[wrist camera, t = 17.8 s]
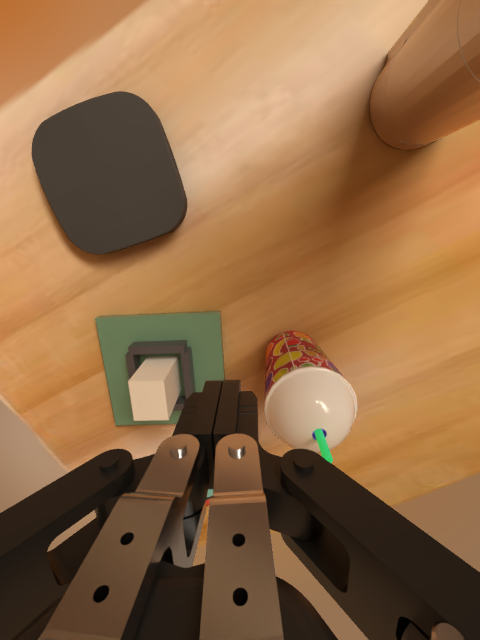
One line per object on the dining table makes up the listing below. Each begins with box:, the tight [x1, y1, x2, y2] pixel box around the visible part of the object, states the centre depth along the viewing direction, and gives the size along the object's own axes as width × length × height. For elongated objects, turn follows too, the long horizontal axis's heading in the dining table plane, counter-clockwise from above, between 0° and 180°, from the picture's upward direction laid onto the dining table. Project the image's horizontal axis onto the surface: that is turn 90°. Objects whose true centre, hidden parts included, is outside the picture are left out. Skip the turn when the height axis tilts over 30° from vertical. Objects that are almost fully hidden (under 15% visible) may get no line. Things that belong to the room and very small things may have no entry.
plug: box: [128, 356, 181, 421], centre depth 38 cm, size 6×4×7 cm
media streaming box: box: [32, 92, 187, 254], centre depth 34 cm, size 15×15×3 cm
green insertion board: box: [95, 311, 225, 426], centre depth 40 cm, size 16×16×3 cm
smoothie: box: [264, 331, 358, 463], centre depth 31 cm, size 8×8×20 cm
